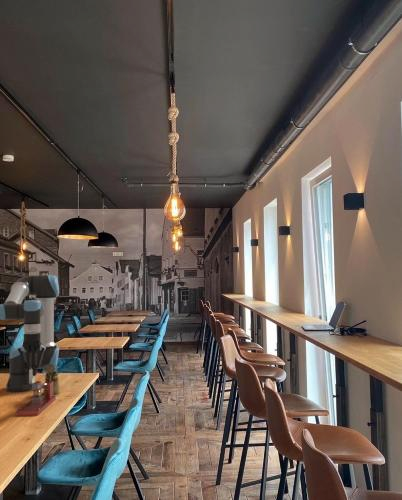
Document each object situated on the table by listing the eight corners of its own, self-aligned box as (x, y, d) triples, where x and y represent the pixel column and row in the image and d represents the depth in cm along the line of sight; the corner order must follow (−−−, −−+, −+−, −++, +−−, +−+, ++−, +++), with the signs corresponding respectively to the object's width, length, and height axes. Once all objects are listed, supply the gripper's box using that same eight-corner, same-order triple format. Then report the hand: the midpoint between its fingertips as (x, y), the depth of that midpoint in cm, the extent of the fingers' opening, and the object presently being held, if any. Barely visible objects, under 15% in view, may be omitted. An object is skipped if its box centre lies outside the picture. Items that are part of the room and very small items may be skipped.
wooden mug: (39, 398, 225) (39, 363, 226) (44, 391, 238) (45, 358, 239) (56, 397, 226) (56, 363, 227) (61, 390, 239) (61, 358, 240)
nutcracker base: (36, 400, 222) (36, 380, 222) (55, 399, 222) (55, 380, 223) (16, 415, 197) (16, 393, 197) (38, 415, 197) (38, 393, 198)
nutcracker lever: (39, 388, 219) (40, 383, 220) (48, 388, 219) (48, 383, 220) (22, 389, 197) (22, 384, 198) (31, 389, 197) (32, 384, 198)
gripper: (15, 334, 201) (14, 385, 199) (43, 333, 201) (42, 384, 199) (21, 332, 208) (21, 381, 207) (48, 331, 208) (48, 380, 207)
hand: (31, 382), depth 203 cm, fingers closed
